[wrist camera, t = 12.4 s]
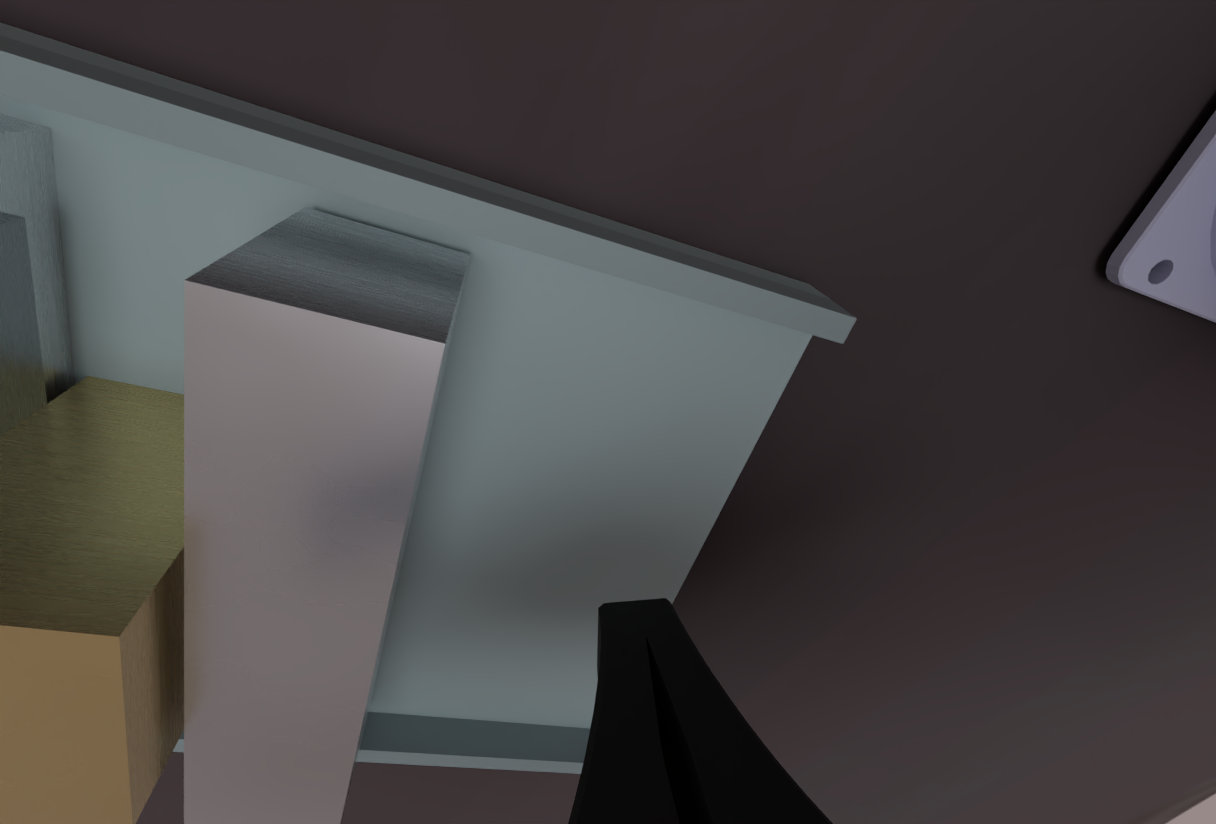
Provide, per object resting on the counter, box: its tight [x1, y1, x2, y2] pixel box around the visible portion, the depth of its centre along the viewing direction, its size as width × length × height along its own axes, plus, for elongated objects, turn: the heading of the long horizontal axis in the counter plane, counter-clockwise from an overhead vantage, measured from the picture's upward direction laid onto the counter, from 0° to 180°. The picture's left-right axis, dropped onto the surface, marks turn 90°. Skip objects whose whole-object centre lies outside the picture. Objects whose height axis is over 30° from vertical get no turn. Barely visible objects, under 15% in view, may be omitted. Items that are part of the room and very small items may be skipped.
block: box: [0, 376, 184, 824], centre depth 9 cm, size 3×4×5 cm
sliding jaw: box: [184, 207, 470, 824], centre depth 10 cm, size 3×12×4 cm, turn 161°
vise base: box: [0, 22, 857, 774], centre depth 12 cm, size 15×14×2 cm
